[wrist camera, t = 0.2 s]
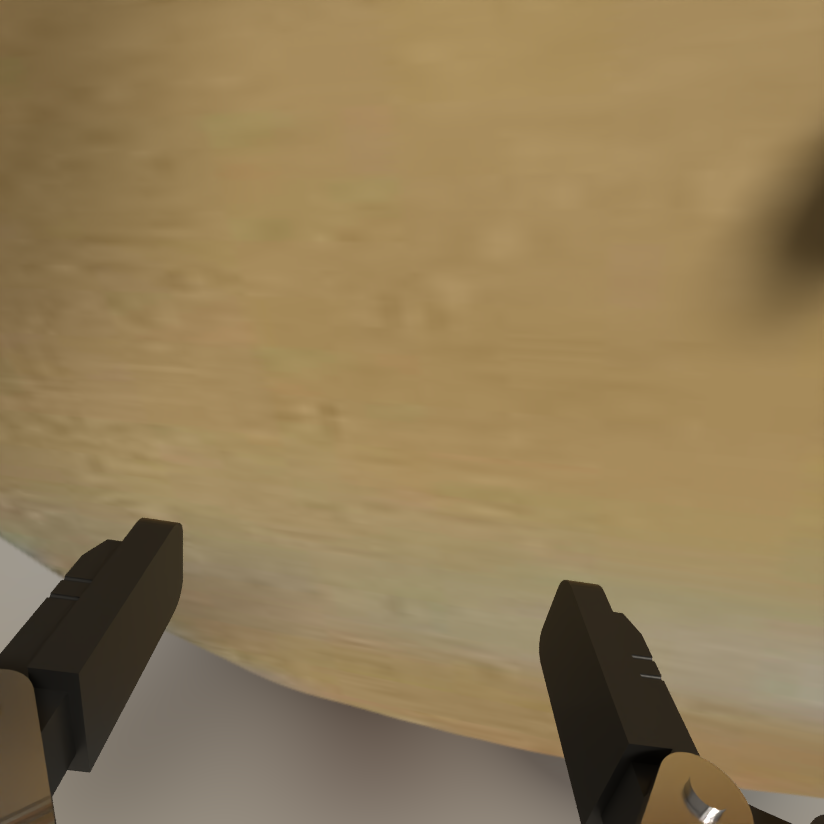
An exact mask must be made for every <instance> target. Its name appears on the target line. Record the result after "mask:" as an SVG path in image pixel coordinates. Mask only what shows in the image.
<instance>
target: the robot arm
mask: <svg viewBox="0 0 824 824" xmlns="http://www.w3.org/2000/svg"><path fill="white" fill-rule="evenodd" d="M182 582H183V529H182V525H181V524H180V523H176V522H169V521H162V520H155V519H149V518H141V519H140V520H138V521H137V523H136V524H135V525H134V526H133V528H132V529H131V530H130V532H129V533H128V534H127V536H126V537H125V538H124V540H123V541H115V540H108V539H107V540H106V541H104V542H103V543H101V544H99V545H98V546H96V547H95V548H93V549H91V550H90V551H88V552H87V553H85V554H83V555H82V556H81V557H80V558H79V560H78V561H77V562H76V563H75V564H74V566H73V567H72V568H71V569H70V570H69V572H68V573H67V574H66V575H65V579H64V580H61V581H60V583H59V584H58V585H57V586H56V588H55V589H54V590H53V591H52V592H51V595H50V597H49V598H46V599H45V601H44V602H43V603H42V604H41V605H40V607H39V608H38V609H37V610H36V611H35V613H34V614H33V615H32V616H31V617H30V619H29V620H28V621H27V622H26V624H25V625H24V626H23V627H22V628H21V629H20V631H19V632H18V633H17V634H16V636H15V637H14V638H13V639H12V640H11V641H10V643H9V644H8V645H7V646H6V648H5V649H4V650H3V651H2V652H1V654H0V824H56V819H55V813H54V807H53V800H52V796H53V794H54V792H55V791H56V789H57V787H58V785H59V784H60V782H61V780H62V778H63V776H64V775H65V773H66V771H67V770H74V771H82V772H90V771H91V770H92V767H93V766H94V763H95V762H96V760H97V758H98V756H99V754H100V752H101V750H102V749H103V747H104V745H105V743H106V741H107V739H108V737H109V735H110V733H111V731H112V729H113V727H114V726H115V724H116V722H117V720H118V718H119V716H120V714H121V712H122V710H123V709H124V707H125V704H126V703H127V701H128V699H129V697H130V695H131V693H132V691H133V689H134V688H135V686H136V684H137V682H138V680H139V678H140V676H141V674H142V672H143V671H144V669H145V667H146V665H147V663H148V661H149V659H150V657H151V655H152V653H153V651H154V650H155V648H156V646H157V644H158V642H159V640H160V638H161V636H162V634H163V632H164V631H165V629H166V627H167V625H168V623H169V621H170V619H171V617H172V615H173V613H174V611H175V609H176V607H177V604H178V601H179V598H180V594H181V589H182ZM539 655H540V662H541V666H542V670H543V674H544V678H545V682H546V686H547V690H548V694H549V698H550V702H551V706H552V710H553V714H554V718H555V722H556V726H557V730H558V734H559V738H560V742H561V746H562V750H563V754H564V758H565V762H566V765H567V769H568V773H569V777H570V781H571V785H572V789H573V793H574V797H575V801H576V805H577V809H578V813H579V817H580V821H581V824H791V823H789V822H787V821H784V820H782V819H780V818H778V817H775V816H773V815H771V814H768V813H766V812H764V811H762V810H759V809H757V808H755V807H753V806H751V805H749V804H748V803H747V801H746V799H745V797H744V795H743V794H742V792H741V791H740V789H739V788H738V787H737V785H736V784H735V783H734V782H733V781H732V780H731V779H730V777H729V776H728V775H727V774H725V773H724V772H723V771H722V770H721V769H720V768H718V767H717V766H716V765H714V764H713V763H711V762H710V761H708V760H706V759H704V758H702V757H700V755H699V753H698V751H697V749H696V747H695V745H694V743H693V741H692V739H691V737H690V735H689V733H688V730H687V728H686V726H685V724H684V722H683V720H682V718H681V716H680V714H679V712H678V710H677V707H676V705H675V703H674V701H673V699H672V697H671V695H670V693H669V691H668V689H667V687H666V684H665V682H664V681H662V680H661V674H660V672H659V670H658V668H657V666H656V663H655V662H654V661H652V655H651V653H650V651H649V649H648V647H647V645H646V643H645V640H644V638H643V636H642V634H641V633H640V632H639V631H638V630H637V629H636V628H635V626H634V625H633V624H632V623H631V622H630V621H629V620H628V619H627V618H626V616H625V615H624V614H623V613H617V612H613V611H612V609H611V606H610V604H609V602H608V600H607V597H606V595H605V593H604V591H603V589H602V587H601V586H599V585H597V584H590V583H583V582H576V581H569V580H563V581H562V582H561V583H560V585H559V587H558V589H557V592H556V595H555V597H554V600H553V602H552V605H551V608H550V610H549V613H548V615H547V618H546V621H545V623H544V626H543V628H542V631H541V635H540V643H539ZM811 824H824V815H820V816H818V817H816V818H815V819H814V820H813V821H812V822H811Z"/></svg>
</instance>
